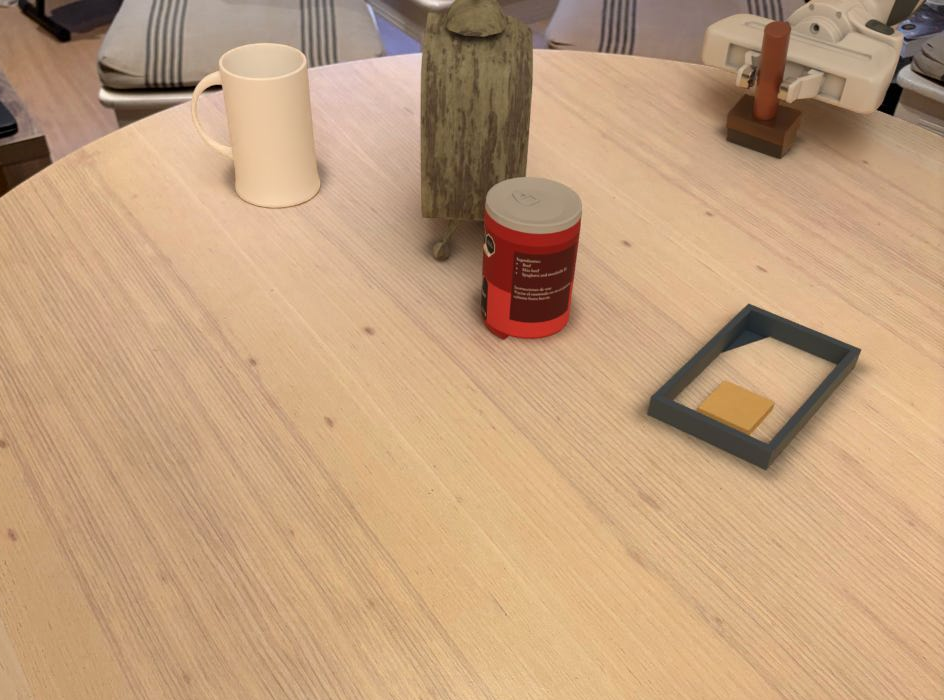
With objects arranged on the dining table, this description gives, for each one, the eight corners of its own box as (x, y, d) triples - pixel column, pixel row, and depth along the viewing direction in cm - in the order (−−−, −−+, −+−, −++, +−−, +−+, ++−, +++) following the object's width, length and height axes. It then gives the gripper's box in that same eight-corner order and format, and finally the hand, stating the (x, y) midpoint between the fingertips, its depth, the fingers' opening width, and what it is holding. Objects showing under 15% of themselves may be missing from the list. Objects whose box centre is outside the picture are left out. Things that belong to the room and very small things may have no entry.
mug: (193, 200, 101) (168, 72, 92) (219, 159, 106) (198, 34, 97) (308, 212, 100) (296, 84, 91) (329, 170, 106) (319, 45, 96)
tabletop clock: (430, 191, 103) (430, -103, 84) (519, 195, 103) (540, -98, 84) (421, 270, 94) (419, -39, 75) (518, 274, 94) (542, -34, 75)
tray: (740, 330, 90) (748, 302, 87) (851, 377, 86) (862, 349, 84) (644, 425, 81) (650, 396, 79) (762, 480, 77) (772, 452, 75)
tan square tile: (722, 389, 83) (725, 379, 82) (772, 411, 81) (775, 401, 81) (695, 417, 81) (697, 406, 80) (745, 440, 79) (749, 430, 78)
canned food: (510, 284, 93) (518, 166, 85) (585, 315, 90) (601, 196, 82) (462, 323, 89) (465, 203, 81) (538, 357, 86) (550, 236, 78)
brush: (741, 121, 113) (756, 9, 102) (797, 140, 111) (819, 27, 100) (723, 141, 112) (737, 30, 101) (780, 161, 109) (800, 49, 99)
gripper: (742, -12, 113) (681, 26, 106) (919, 38, 105) (865, 82, 98) (729, 49, 118) (669, 89, 111) (897, 101, 110) (845, 147, 103)
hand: (763, 86), depth 104 cm, fingers open, 3 cm apart
